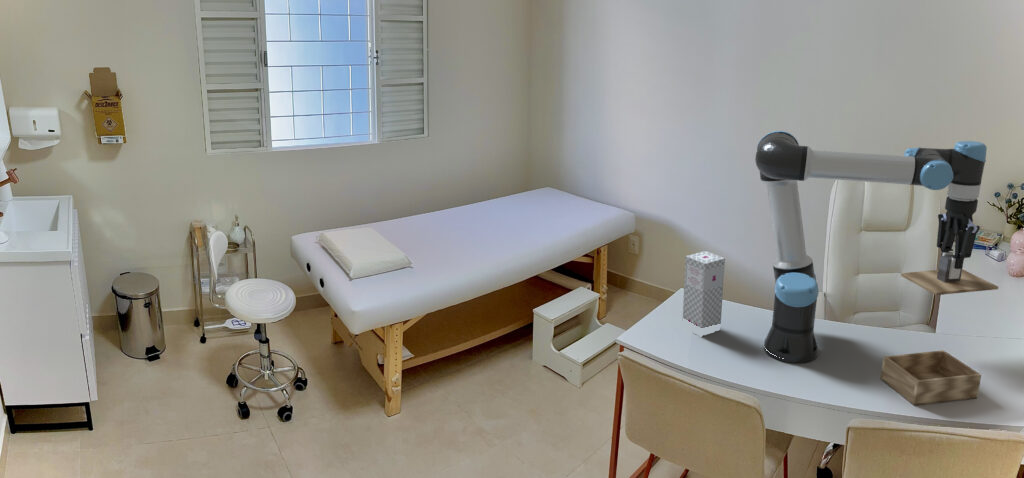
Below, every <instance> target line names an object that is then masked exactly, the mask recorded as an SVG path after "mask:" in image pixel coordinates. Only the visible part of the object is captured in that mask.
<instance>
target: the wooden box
mask: <svg viewBox="0 0 1024 478" xmlns="http://www.w3.org/2000/svg"><path fill="white" fill-rule="evenodd" d="M981 379H982V374H981V373H979V372H978V371H977V370H974V369H973V368H971V367H970V366H968V364H965V363H963V362H962V361H961V360H960V359H958V358H956V356H955V357H954V356H953V355H952V354H950V353H948V352H947V351H946V350H943V349H942V350H935V351H934V350H933V351H932V350H931V351H925V352H924V351H922V352H913V353H904V354H896V355H886V356H883V358H882V367H881V371H880V380H882V381H883V382H884V383H885V384H886V385H887V386H889V388H891V389H892V390H894V391H895V393H897V394H899V395H900V396H901V397H903V399H905V400H906V401H907V402H909V403H910V404H912V405H913V406H922V405H924V406H925V405H932V404H941V403H948V402H956V401H958V402H959V401H966V400H975V399H978V394H979V389H980V385H981Z"/></svg>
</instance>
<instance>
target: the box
mask: <svg viewBox="0 0 1024 478" xmlns="http://www.w3.org/2000/svg"><path fill="white" fill-rule="evenodd" d="M684 261H685V262H684V265H685V266H684V280H683V281H684V283H683V284H684V285H683V306H682V319H683V318H684V319H686V320H688V321H689V322H691V323H693V324H694V325H696V326H698V327H700V328H705V327H709V326H712V325H717V324H721V323H722V313H723V312H722V309H723V308H722V307H723V296H724V279H725V267H726V266H725V264H726V262H725V261H726V258H725V257H722V256H720V255H718V254H715V253H713V252H710V251H706V250H704V251H699V252H696V253H692V254H688V255H685V260H684ZM721 325H722V324H721Z"/></svg>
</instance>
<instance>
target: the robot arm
mask: <svg viewBox="0 0 1024 478" xmlns="http://www.w3.org/2000/svg"><path fill="white" fill-rule="evenodd" d="M756 147H757V148H756V152H755V153H756V154H755V158H754V159H755V164H756V167H757V169H758V170H759V175H760V182H762V183H764V184H765V185H766V188H767V196H768V202H769V203H768V204H769V209H770V218H771V225H772V230H773V238H774V239H773V240H774V245H775V253H776V258H775V260H773V262H772V268H773V276H774V282H775V283H774V299H773V312H772V324H771V326H770V329H769V331H768V333H767V335H766V337H765V339H764V344H763V350H764V352H765V354H767V355H768V356H770V357H771V358H773V359H774V360H775V359H776V360H778V361H781V362H785V363H791V364H804V363H809V362H812V361H814V360H815V359H817V357H818V350H819V347H818V343H817V340H816V336H815V331H814V329H815V328H814V327H815V319H816V312H817V311H816V310H817V303H818V302H817V301H818V296H819V283H818V282H817V278H816V277H817V276H816V273H815V268H814V261H813V258H812V257H811V256H809V255H808V254H807V248H806V247H807V246H806V239H805V232H804V224H803V223H804V222H803V216H802V210H801V209H802V208H801V201H800V194H799V185H798V181H801V182H805V181H807V180H808V179H810V178H812V179H824V180H825V179H826V180H839V181H855V182H868V183H881V184H893V185H908V186H910V185H912V186H921V187H924V188H926V189H928V190H931V191H941V190H944V189H945V188H947V191H946V192H947V193H946V195H947V196H946V199H945V205H944V209H945V210H946V212H945V213H939V214H938V215H937V219H938V229H937V230H938V231H937V239H936V247H937V248H939V249H940V251H941V254H940V257H941V256H947V255H955V256H952V260H951V266H950V272H949V279H957V278H959V275H960V269H961V268H962V265H963V266H964V262H963V259H964V260H965V259H968V258H969V259H970V258H972V257H971V256H972V253H973V248H974V245H975V241H976V238H977V237H976V236H977V234H978V232H979V231H980V229H981V228H980V227H981V226H979V225H975V223H974V220H973V215H974V214H975V213H976V212H977V209H978V204H979V200H978V198H979V197H980V190H981V185H982V180H983V174H984V168H985V165H986V164H985V163H986V162H987V159H986V158H987V145H986V144H985V143H983V142H979V141H973V140H959V141H957V142H956V143H955V145H954V147H953V148H931V147H910V148H909V147H908V148H906V150H905V151H904V153H903V155H895V154H894V155H893V154H881V153H880V154H877V153H861V152H847V151H846V152H845V151H844V152H843V151H833V150H832V151H831V150H830V151H827V150H813V149H812V148H811V147H810V146H807V145H806V146H805V145H800V144H799V142H798V140H797V138H796V137H795V136H794V135H793V134H791V133H789V132H787V131H784V130H774V131H770V132H769V133H767V134H765V136H763V137H762V138H761V139H760V140H759V142H758V144H757V146H756ZM954 242H955V244H954ZM953 245H955V246H954V249H953ZM953 251H954V252H953ZM962 269H963V268H962ZM764 346H765V348H766V349H767V350H768V351H769V352H770V353H772V354H774V355H776V356H777V357H776V356H774V355H772V354H770V353H769V352H768V351H766V349H765V348H764ZM779 357H780V358H779ZM782 358H784V359H782Z"/></svg>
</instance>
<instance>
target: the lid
mask: <svg viewBox="0 0 1024 478" xmlns="http://www.w3.org/2000/svg"><path fill="white" fill-rule="evenodd" d="M952 256H955V254H953V255H947V256H941V255H940V258H939V263H938V269H935V270H922V271H921V270H920V271H910V272H901V273H900V277H902V278H904V279H906V280H907V281H908V282H911V283H913V284H915V285H917V286H919V287H921V288H922V289H923V290H926V291H928V292H929V293H931V294H933V295H934V296H943V295H953V294H962V293H963V294H964V293H973V292H984V291H992V290H993V291H995V290H999V286H998V285H996V284H994V283H992V282H990V281H989V280H986V279H983V278H981V277H979V276H977V275H976V274H973V273H971V272H969V271H967V270H965V269H963V267H964V264H963V265H962V268H961V269H960V275H959V278H957V279H949V272H950V266H951V260H952ZM964 261H965V258H964V259H963V263H964Z"/></svg>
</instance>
